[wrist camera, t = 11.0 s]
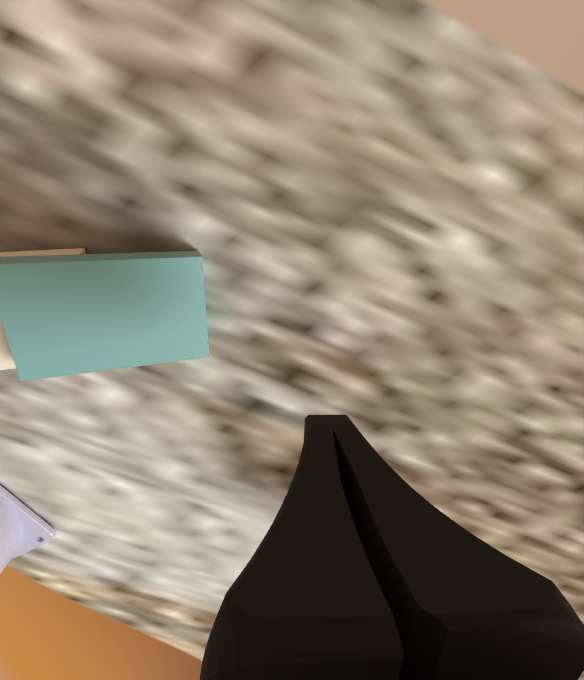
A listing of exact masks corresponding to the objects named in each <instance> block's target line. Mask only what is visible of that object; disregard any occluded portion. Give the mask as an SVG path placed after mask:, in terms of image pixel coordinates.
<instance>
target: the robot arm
mask: <svg viewBox="0 0 584 680" xmlns="http://www.w3.org/2000/svg"><path fill="white" fill-rule="evenodd" d="M55 535H56V531H55V530H54V529H53V528H52V527H51V526H50V525H49V524H47V523H46V522H45V521H44V520H42V519H41V518H40V517H39V516H37V515H36V514H35V513H34V512H33V511H31V510H30V509H29V508H28V507H26V506H25V505H24V504H23V503H22V502H20V501H19V500H18V499H17V498H15V497H14V496H13V495H12V494H11V493H9V492H8V491H7V490H6V489H4V488H3V487H2V486H1V485H0V574H1V572H2V571H3V569H4V568H5V566H6V565H7V563H8V562H9V561H10V560H11V559H13V558H15V557H17V556H19V555H21V554H23V553H25V552H28V551H30V550H32V549H34V548H36V547H38V546H40V545H42V544H44V543H47V542H49V541H51V540H52V539H53V538H54V536H55ZM583 671H584V625H583V623H582V622H581V620H580V619H579V617H578V616H577V614H576V613H575V611H574V610H573V608H572V607H571V605H570V604H569V602H568V601H567V600H566V598H565V597H564V596H563V594H562V593H561V592H560V591H559V589H558V588H557V587H556V585H555V584H554V583H553V582H552V581H551V580H549V579H547V578H545V577H544V576H542V575H540V574H538V573H536V572H535V571H533V570H531V569H529V568H527V567H526V566H524V565H522V564H520V563H518V562H517V561H515V560H513V559H511V558H509V557H508V556H506V555H504V554H503V553H501V552H499V551H498V550H496V549H495V548H493V547H491V546H490V545H488V544H487V543H485V542H484V541H482V540H480V539H479V538H477V537H476V536H474V535H473V534H471V533H470V532H468V531H467V530H465V529H464V528H462V527H461V526H460V525H458V524H457V523H455V522H454V521H453V520H451V519H450V518H449V517H447V516H446V515H445V514H443V513H442V512H440V511H439V510H438V509H437V508H435V507H434V506H433V505H432V504H430V503H429V502H428V501H427V500H425V499H424V498H423V497H422V496H421V495H420V494H418V493H417V492H416V491H415V490H414V489H413V488H411V487H410V486H409V485H408V484H407V483H406V482H405V481H404V480H403V479H402V478H401V477H400V476H399V475H398V474H397V473H396V472H395V471H394V470H393V469H392V468H391V467H390V466H389V465H388V464H387V463H386V462H385V461H384V460H383V458H382V457H381V456H380V455H379V454H378V453H377V452H376V451H375V449H374V448H373V447H372V446H371V445H370V444H369V443H368V441H367V440H366V439H365V438H364V436H363V435H362V434H361V433H360V432H359V430H358V429H357V428H356V426H355V425H354V424H353V423H352V421H351V420H350V419H349V417H348V416H347V415H308V416H307V417H306V418H305V429H304V444H303V448H302V452H301V456H300V460H299V463H298V466H297V469H296V472H295V475H294V478H293V480H292V483H291V485H290V488H289V490H288V493H287V495H286V497H285V499H284V502H283V504H282V506H281V508H280V510H279V512H278V514H277V516H276V518H275V520H274V522H273V523H272V525H271V527H270V529H269V531H268V532H267V534H266V536H265V537H264V539H263V540H262V542H261V544H260V545H259V547H258V548H257V550H256V552H255V553H254V555H253V557H252V558H251V560H250V561H249V562H248V564H247V565H246V567H245V568H244V569H243V571H242V572H241V574H240V575H239V576H238V578H237V579H236V580H235V582H234V583H233V585H232V586H231V587H230V589H229V590H228V591H227V593H226V595H225V598H224V600H223V602H222V605H221V607H220V610H219V612H218V614H217V617H216V620H215V622H214V625H213V628H212V630H211V633H210V636H209V639H208V642H207V646H206V649H205V653H204V657H203V661H202V667H201V675H200V680H578V678H579V677H580V675H581V674H582V672H583Z"/></svg>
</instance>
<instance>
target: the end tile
mask: <svg viewBox="0 0 584 680" xmlns="http://www.w3.org/2000/svg"><path fill="white" fill-rule="evenodd" d="M0 318H1V321H2V324H3V327H4V331H5V334H6V337H7V340H8V343H9V347H10V350H11V353H12V356H13V359H14V363H15V366H16V369H17V372H18V375H19V379H20V381H26V380H34V379H42V378H50V377H58V376H65V375H73V374H81V373H89V372H97V371H105V370H112V369H120V368H128V367H136V366H144V365H151V364H159V363H167V362H175V361H183V360H190V359H198V358H206V357H209V347H208V333H207V319H206V304H205V290H204V276H203V261H202V256H201V254H200V253H199V252H198V251H169V252H137V253H105V254H73V255H41V256H9V257H0Z"/></svg>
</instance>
